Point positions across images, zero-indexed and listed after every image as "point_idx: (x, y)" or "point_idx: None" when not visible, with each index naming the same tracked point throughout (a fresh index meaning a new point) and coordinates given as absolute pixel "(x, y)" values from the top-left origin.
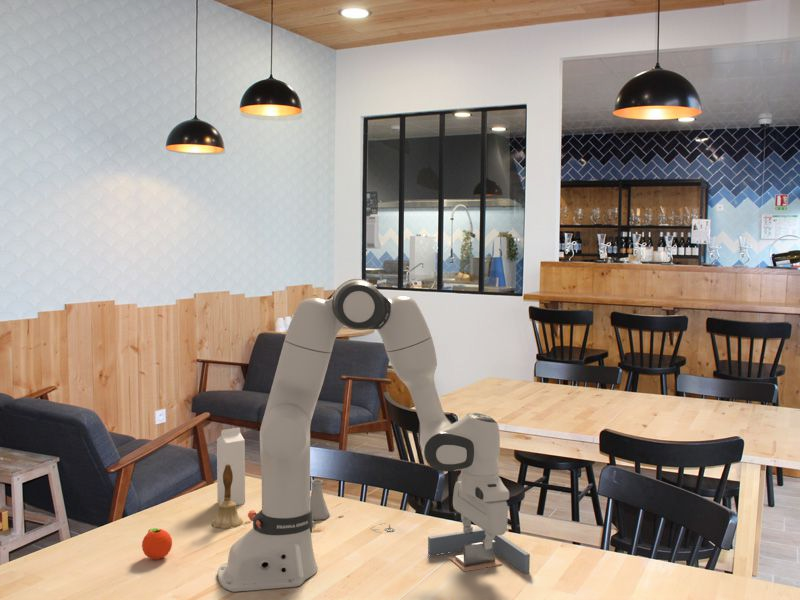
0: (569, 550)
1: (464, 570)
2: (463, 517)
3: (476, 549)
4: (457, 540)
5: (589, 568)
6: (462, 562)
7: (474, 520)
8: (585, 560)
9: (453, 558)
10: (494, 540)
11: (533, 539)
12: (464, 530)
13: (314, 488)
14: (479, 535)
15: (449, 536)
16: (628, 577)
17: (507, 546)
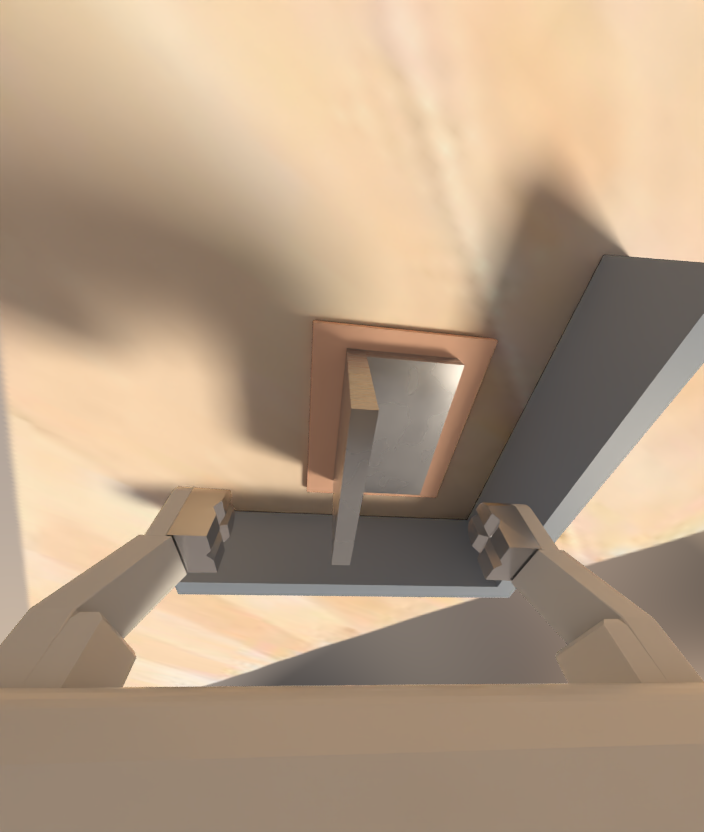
0: (315, 629)
1: (314, 322)
2: (617, 640)
3: (342, 458)
4: (556, 450)
5: (199, 620)
6: (380, 356)
7: (270, 777)
8: (247, 629)
9: (471, 354)
10: (434, 557)
11: (419, 610)
12: (520, 519)
13: None
14: None
15: (610, 426)
16: (130, 643)
17: (330, 567)
